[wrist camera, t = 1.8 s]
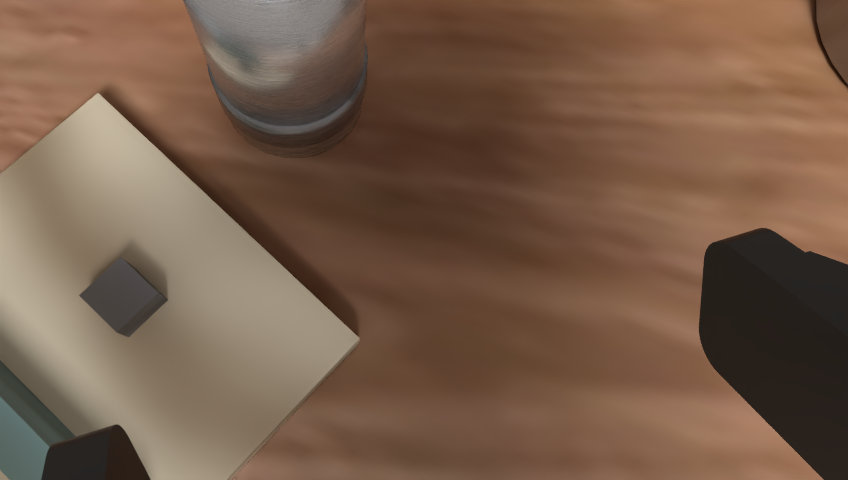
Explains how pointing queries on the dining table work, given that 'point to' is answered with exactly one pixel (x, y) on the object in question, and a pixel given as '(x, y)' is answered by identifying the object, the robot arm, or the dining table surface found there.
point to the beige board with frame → (143, 310)
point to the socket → (286, 69)
